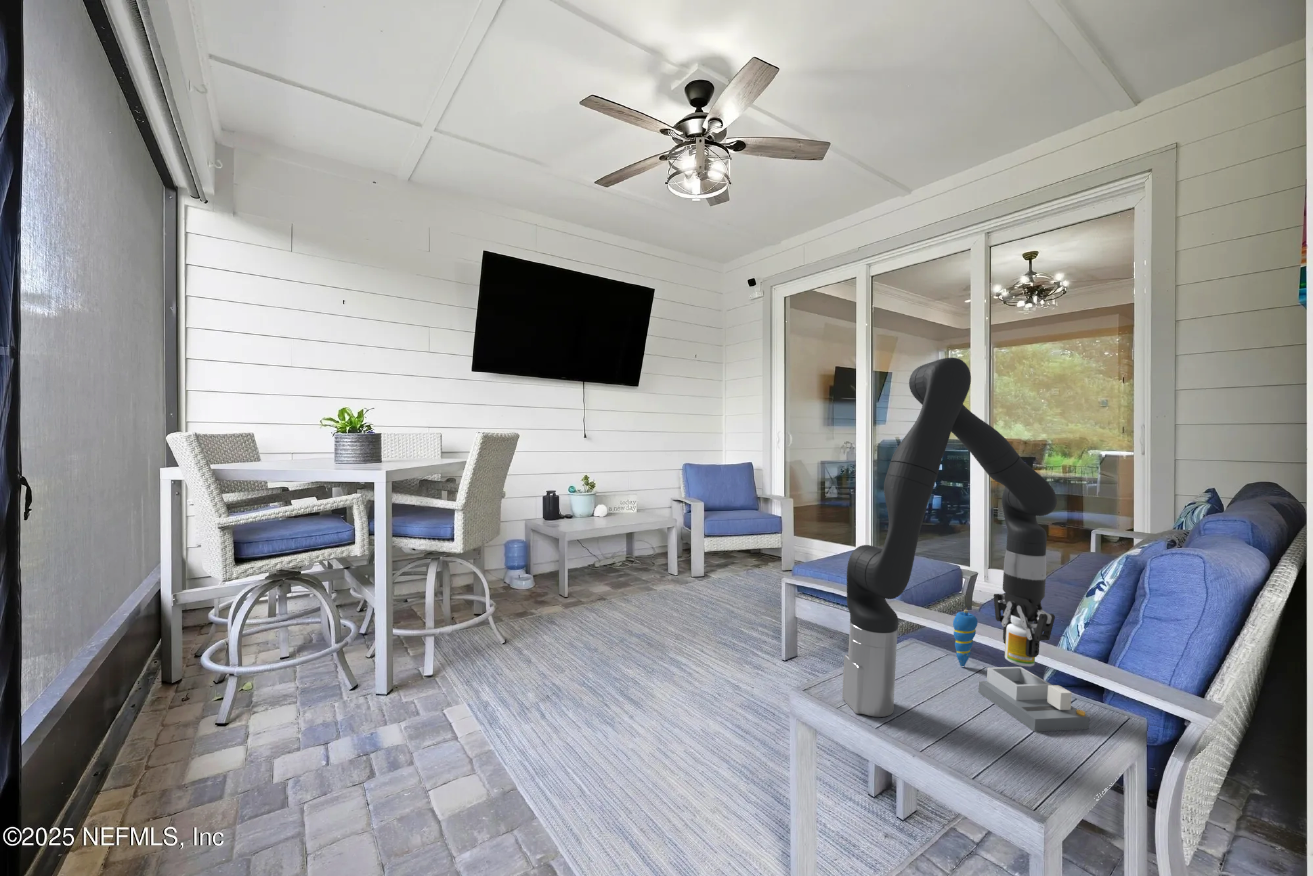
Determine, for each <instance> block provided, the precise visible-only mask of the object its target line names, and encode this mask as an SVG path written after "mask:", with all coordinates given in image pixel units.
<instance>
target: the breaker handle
mask: <svg viewBox="0 0 1313 876" xmlns="http://www.w3.org/2000/svg"><path fill="white" fill-rule="evenodd" d="M1072 695H1073V694H1072V691H1070V690H1068V689H1066V688H1065V687H1063V686H1061V685H1059V684H1051V685H1048V696H1047V702H1048V703H1049V704H1051V705H1053V706H1054V707H1056V708H1057V709H1059V710H1071V706H1072Z"/></svg>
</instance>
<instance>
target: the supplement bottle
mask: <svg viewBox="0 0 1313 876" xmlns="http://www.w3.org/2000/svg"><path fill="white" fill-rule="evenodd" d="M1011 622H1012V624H1009V625H1007V628H1006V643H1005V645H1004V658H1005V660H1006V661H1008V662H1010V663H1012V664H1014V665H1016V666H1019V667H1033V666H1035V664H1036V663H1035V662H1036V657H1028V656H1027V655H1026V639H1028V638H1027V634H1026V630H1025V628H1023V626H1022V623H1021V619H1020V618H1018V617H1016V616H1013V615H1011ZM1028 623H1029V624H1033V623H1034V622H1028ZM1032 633H1033V634H1035V633H1034V629H1033V628H1032Z"/></svg>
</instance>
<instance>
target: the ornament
mask: <svg viewBox="0 0 1313 876" xmlns="http://www.w3.org/2000/svg"><path fill="white" fill-rule="evenodd" d="M978 623H979V622H978V618H977V617H976V616H975V615H974V614H972V613H970V612H969V610H968V609H967V607H965V609H964V610H963V611H958V612H957V613H956V615H955V617H954V618H953V621H952V627H953V630H954V631H953V637H954V639H955V642H954V647H955V651H956V654H955V655H956V657H957V660H958V663H959V666H960V667H961V666H964V667H965V666H966V664H967V662H968V660H969V659H970V656H971V653H972V652H971V649H972V647H973V645H974V638H975V636H976V633H977V630H976V629H977V626H978V625H979V624H978Z"/></svg>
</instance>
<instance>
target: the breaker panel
mask: <svg viewBox="0 0 1313 876" xmlns="http://www.w3.org/2000/svg"><path fill="white" fill-rule="evenodd" d="M1048 685H1052V684H1051V683H1050V682H1048V681H1046V680H1044V679H1042V678H1041V677H1039V676H1038V675H1036V674H1033V673H1032V672H1030V671H1029V670H1027V669H1025V668H1023V666H1005V667H1004V666H1003V667H1001V666H1000V667H997V666H996V667H987V672H986V680H979V681H978V693H979V694H980V695H982V696H983V697H985V698H986V699H988V700H989V701H990V702H992V703H993V704H995V706H998V708H999V709H1002V710H1003V711H1004V712H1006V713H1007V714H1008V715H1011V717H1013V718H1014V719H1016V720H1017V721H1019V722H1020V723H1021V724H1023V725H1024V726H1026V727H1027V728H1028V729H1030V730H1031V731H1033V732H1034V733H1037V732H1053V731H1055V732H1057V731H1075V730H1089V729H1090V727H1089V726H1090V716H1089V715H1087V714H1086V711H1084V710H1083V709H1077V708H1076V707H1074V706H1072V705H1071V710H1059V709H1057V708H1056V707H1054V706H1053V705H1051V704H1049V703H1048V702H1047V696H1048Z"/></svg>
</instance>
